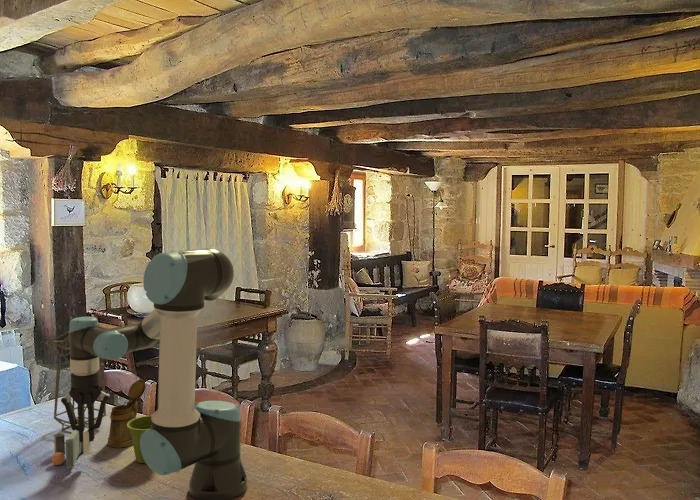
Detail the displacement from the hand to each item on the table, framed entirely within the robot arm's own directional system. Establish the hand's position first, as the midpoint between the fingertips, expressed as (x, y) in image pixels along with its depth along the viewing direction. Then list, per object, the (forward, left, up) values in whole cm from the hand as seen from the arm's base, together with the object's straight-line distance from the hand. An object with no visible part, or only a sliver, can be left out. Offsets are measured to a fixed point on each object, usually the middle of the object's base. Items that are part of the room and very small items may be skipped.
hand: (87, 452), depth 175 cm
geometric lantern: (+30, -7, -4) cm, 31 cm away
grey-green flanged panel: (+4, +3, -3) cm, 6 cm away
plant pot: (-6, -16, -4) cm, 17 cm away
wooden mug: (+12, -16, -4) cm, 20 cm away
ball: (+6, +6, -4) cm, 10 cm away
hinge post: (+11, -1, -4) cm, 12 cm away
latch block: (+13, +4, -4) cm, 14 cm away
